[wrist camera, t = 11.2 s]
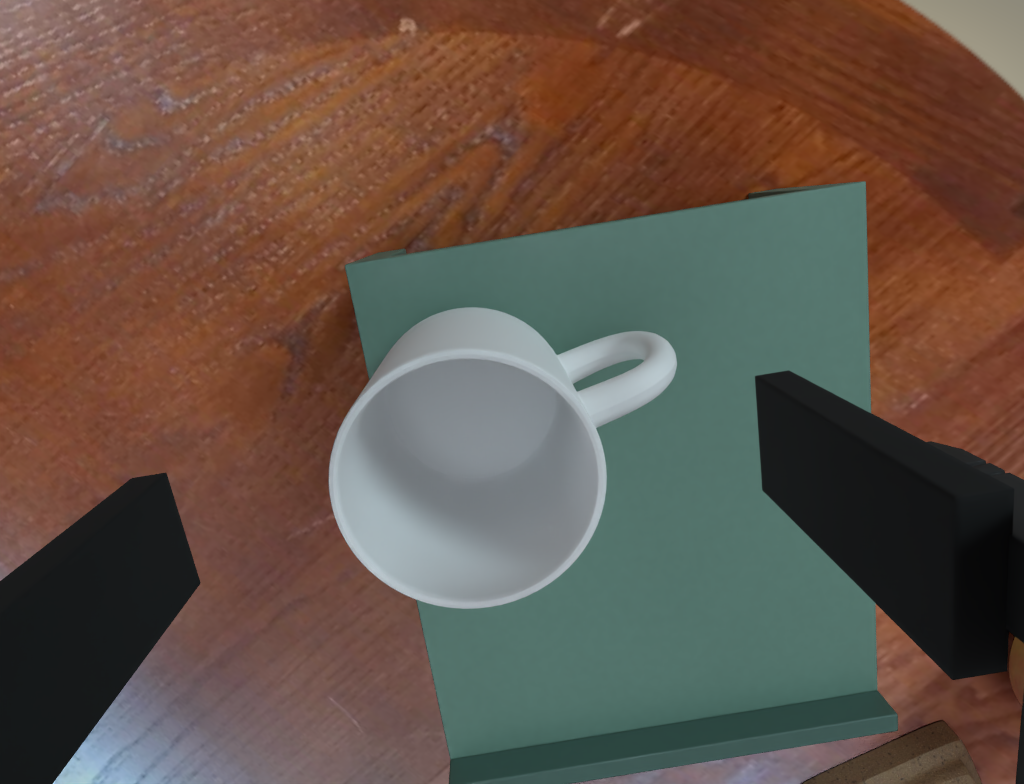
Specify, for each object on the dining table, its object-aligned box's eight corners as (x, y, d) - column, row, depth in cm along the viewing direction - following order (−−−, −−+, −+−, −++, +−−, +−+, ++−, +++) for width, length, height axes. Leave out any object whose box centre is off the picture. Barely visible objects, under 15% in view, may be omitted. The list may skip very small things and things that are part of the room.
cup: (343, 354, 30) (275, 424, 20) (599, 232, 29) (660, 242, 19) (431, 514, 32) (408, 650, 22) (672, 405, 31) (761, 494, 21)
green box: (376, 253, 37) (335, 268, 27) (776, 188, 37) (891, 178, 27) (459, 663, 44) (451, 803, 34) (800, 608, 44) (898, 731, 34)
